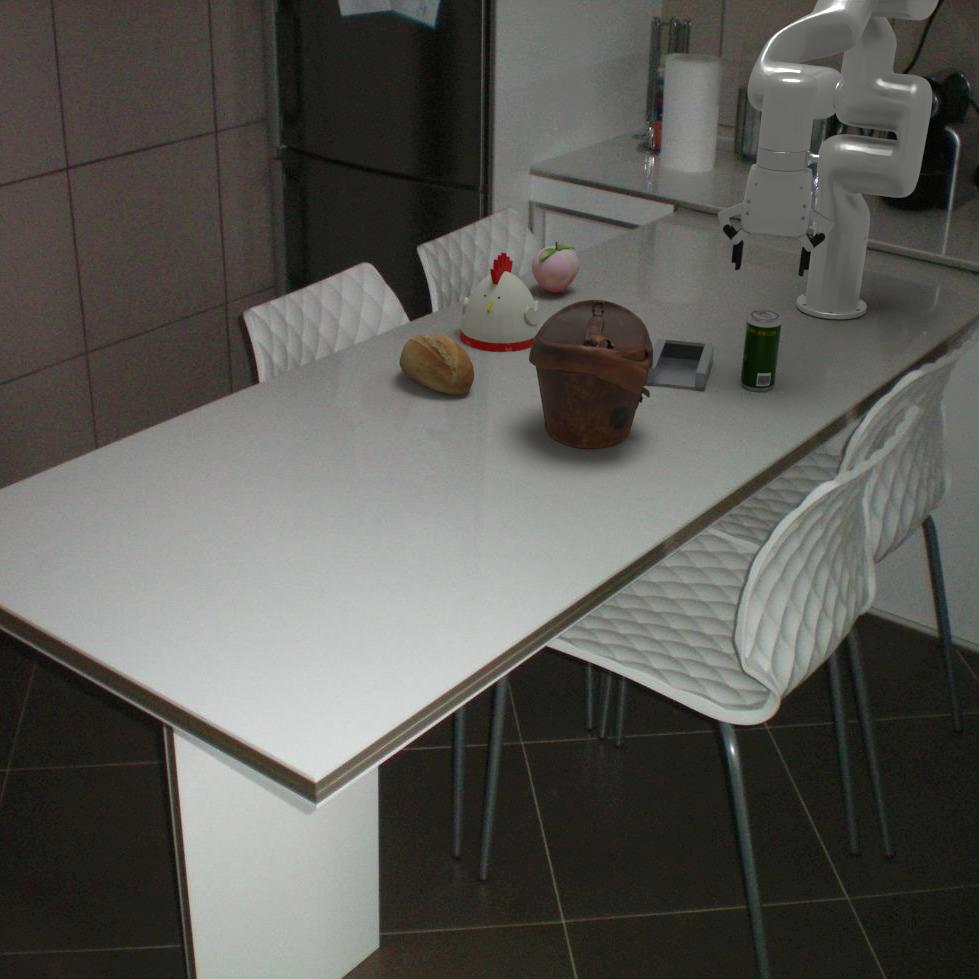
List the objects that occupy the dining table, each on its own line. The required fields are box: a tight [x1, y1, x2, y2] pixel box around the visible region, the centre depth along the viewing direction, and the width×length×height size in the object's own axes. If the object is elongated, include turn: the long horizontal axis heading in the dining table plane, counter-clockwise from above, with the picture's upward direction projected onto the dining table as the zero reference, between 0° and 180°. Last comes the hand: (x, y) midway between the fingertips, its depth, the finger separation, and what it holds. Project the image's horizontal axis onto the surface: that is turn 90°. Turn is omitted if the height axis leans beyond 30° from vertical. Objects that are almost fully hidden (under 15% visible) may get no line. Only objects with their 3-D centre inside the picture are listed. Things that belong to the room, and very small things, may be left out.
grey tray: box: [646, 338, 715, 392], centre depth 225 cm, size 13×10×3 cm
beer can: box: [740, 309, 782, 393], centre depth 218 cm, size 5×5×12 cm
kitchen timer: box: [460, 252, 542, 353], centre depth 235 cm, size 14×14×15 cm
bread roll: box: [398, 333, 475, 395], centre depth 218 cm, size 10×15×8 cm, turn 39°
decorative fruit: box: [531, 241, 581, 294], centre depth 257 cm, size 9×8×10 cm
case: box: [528, 299, 654, 450], centre depth 201 cm, size 18×20×18 cm
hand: (769, 270), depth 212 cm, fingers open, 9 cm apart
